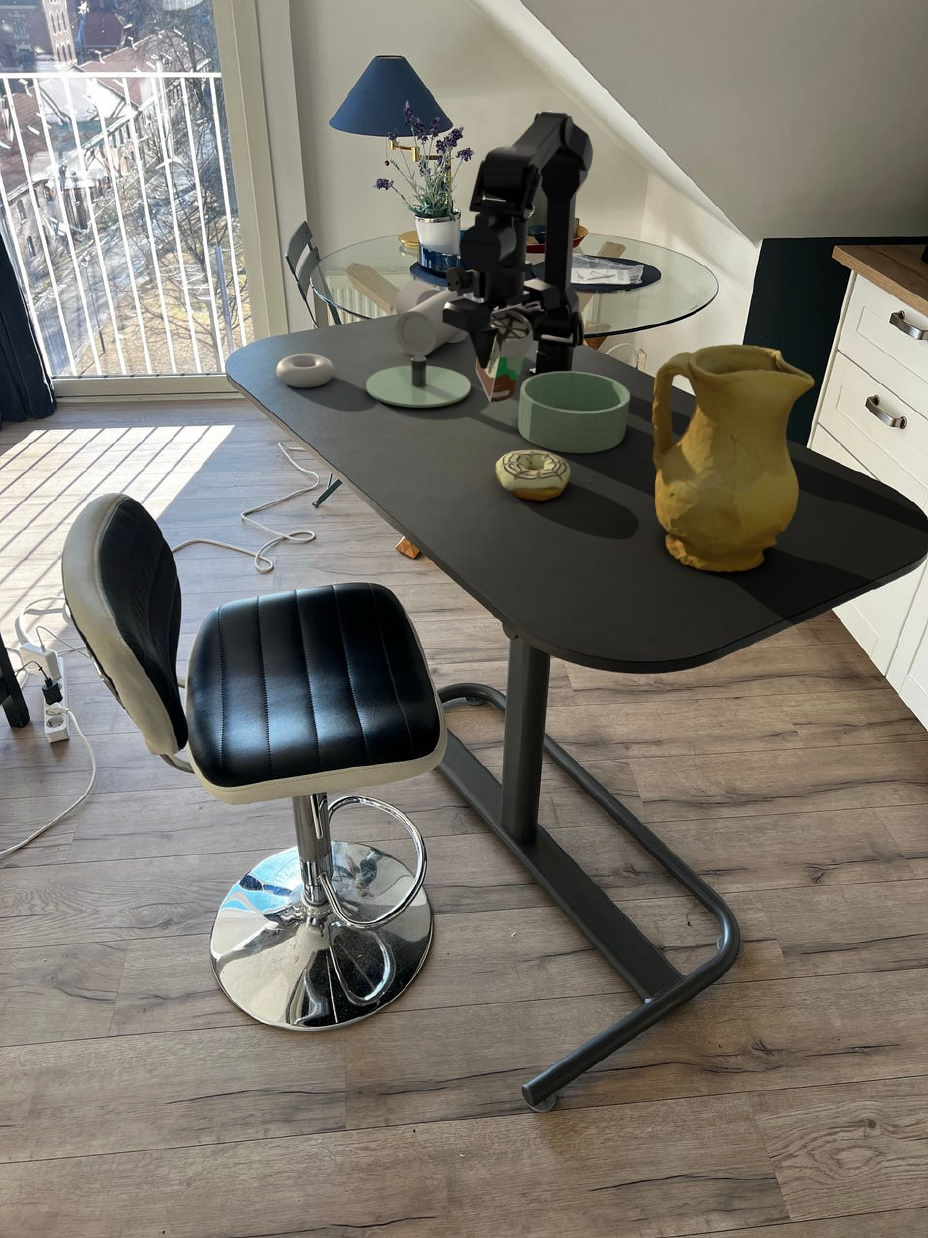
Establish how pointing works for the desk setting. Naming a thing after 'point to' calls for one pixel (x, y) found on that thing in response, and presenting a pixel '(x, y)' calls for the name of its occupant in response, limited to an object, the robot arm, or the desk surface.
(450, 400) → the lid
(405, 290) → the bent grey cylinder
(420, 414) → the desk surface
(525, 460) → the decorated donut
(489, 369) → the food container
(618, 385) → the pot
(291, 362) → the donut
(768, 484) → the pitcher
